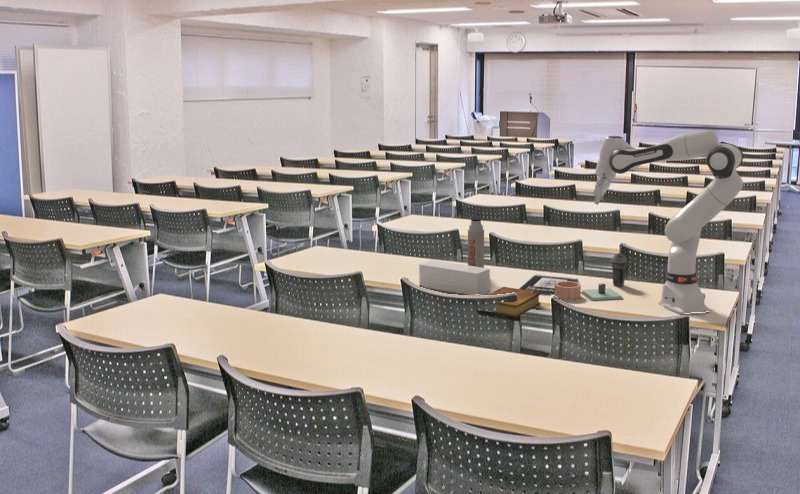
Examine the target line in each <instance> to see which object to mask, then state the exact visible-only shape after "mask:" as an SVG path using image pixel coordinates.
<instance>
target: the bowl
mask: <svg viewBox="0 0 800 494" xmlns="http://www.w3.org/2000/svg"><path fill="white" fill-rule="evenodd" d="M581 290H582V285H581V283H579V282H571V281H561V282H557V283H555V292H554V295H553V296H554V297H555V296H557V297H559V298H561V299H560V300H563V301H564V300H565V301H573V300H574V301H575V300H579V299H580V298H581V295H582V294H581V292H582V291H581Z"/></svg>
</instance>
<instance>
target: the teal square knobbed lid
mask: <svg viewBox="0 0 800 494" xmlns="http://www.w3.org/2000/svg"><path fill="white" fill-rule="evenodd" d="M581 290H582V291H581V292H582V293H584V294H585V295H586V296H588V297H589V298H590V299H592V300H607V301H611V300H610V299H622V298H623V296H622V295H621V294H619V293H618V292H616V291H615V290H613V289H611V288H606V283H601V282H600V283H598V288H593V289H581Z"/></svg>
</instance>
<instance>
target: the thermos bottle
mask: <svg viewBox="0 0 800 494" xmlns="http://www.w3.org/2000/svg"><path fill="white" fill-rule="evenodd" d="M470 220H471V222H470V224H469V226H468V229H467V265H468V266H475V267H481V268H485V229H484V225H483V224H482V222H481V221H482V218H480V217H472V218H471V219H470Z"/></svg>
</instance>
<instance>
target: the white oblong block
mask: <svg viewBox="0 0 800 494" xmlns="http://www.w3.org/2000/svg"><path fill="white" fill-rule="evenodd" d="M418 270H419V272H418V274H419V277H418V278H419V279H418V280H419V281H418V282H419V283H418V284H419V285H421V286H420V287H422V286H425V287H424V288H428V287H430V288H429V289H433V288H434V289H433V290H438V291H439V290H441V291H443V292H444V291H446V292H451V293H456V294H457V293H458V294H461V293H466V294H465V295H467V294H482V295H483V293H484V294H486V293H488V291H489V292H490V289H491V288H490V287H491V286H490V285H491V283H490V282H491V280H490V279H491V278H490V277H491V276H490V274H491V268H486V267H484V268H481V267H475V266H468V264H460V263H453V262H450V261H449V262H448V261H442V260H433V259H432V260H428V261H424V262H422V263H419V264H418Z"/></svg>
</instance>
